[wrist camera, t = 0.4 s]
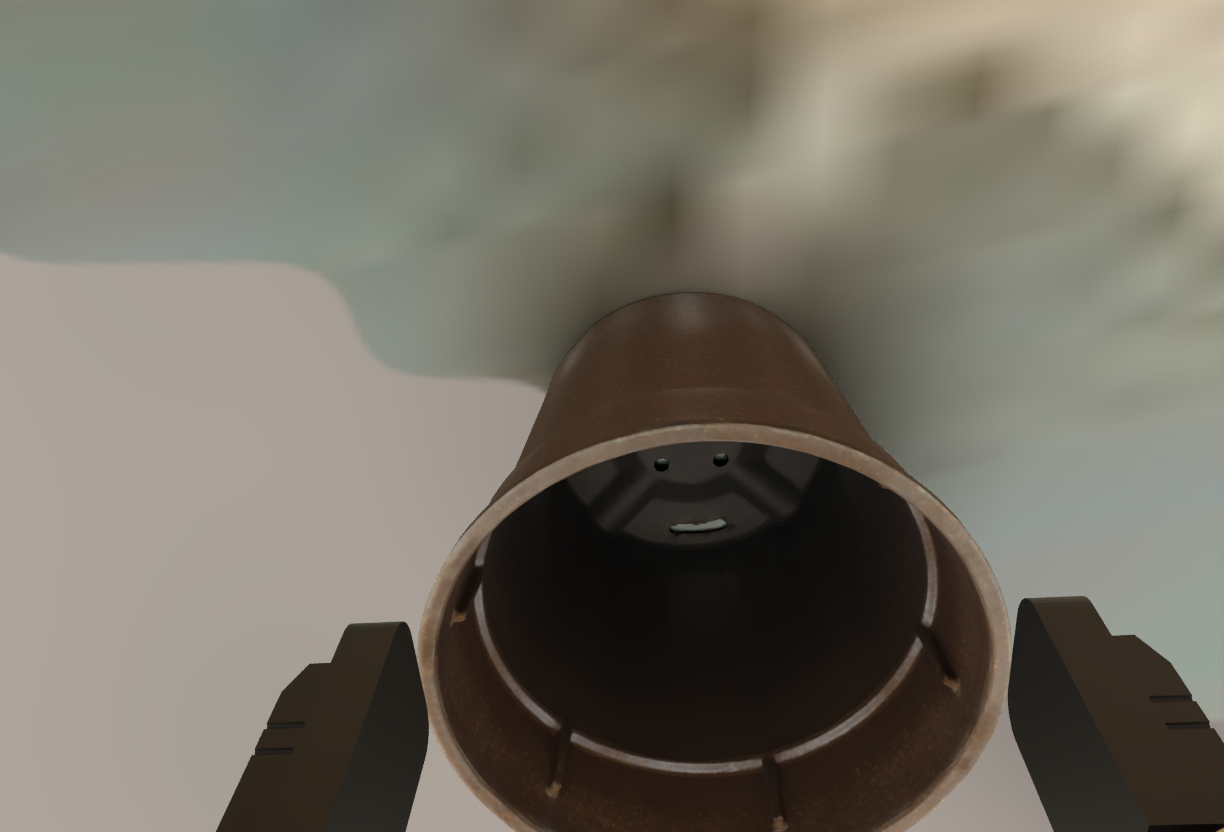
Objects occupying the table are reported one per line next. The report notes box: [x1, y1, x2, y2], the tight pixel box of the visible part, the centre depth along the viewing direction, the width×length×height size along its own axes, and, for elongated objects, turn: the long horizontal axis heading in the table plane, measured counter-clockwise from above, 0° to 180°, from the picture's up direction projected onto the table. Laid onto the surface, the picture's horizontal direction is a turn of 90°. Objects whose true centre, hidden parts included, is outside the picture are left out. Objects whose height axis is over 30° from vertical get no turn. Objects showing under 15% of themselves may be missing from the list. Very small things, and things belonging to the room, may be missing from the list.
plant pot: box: [417, 293, 1012, 832], centre depth 35 cm, size 16×16×16 cm
